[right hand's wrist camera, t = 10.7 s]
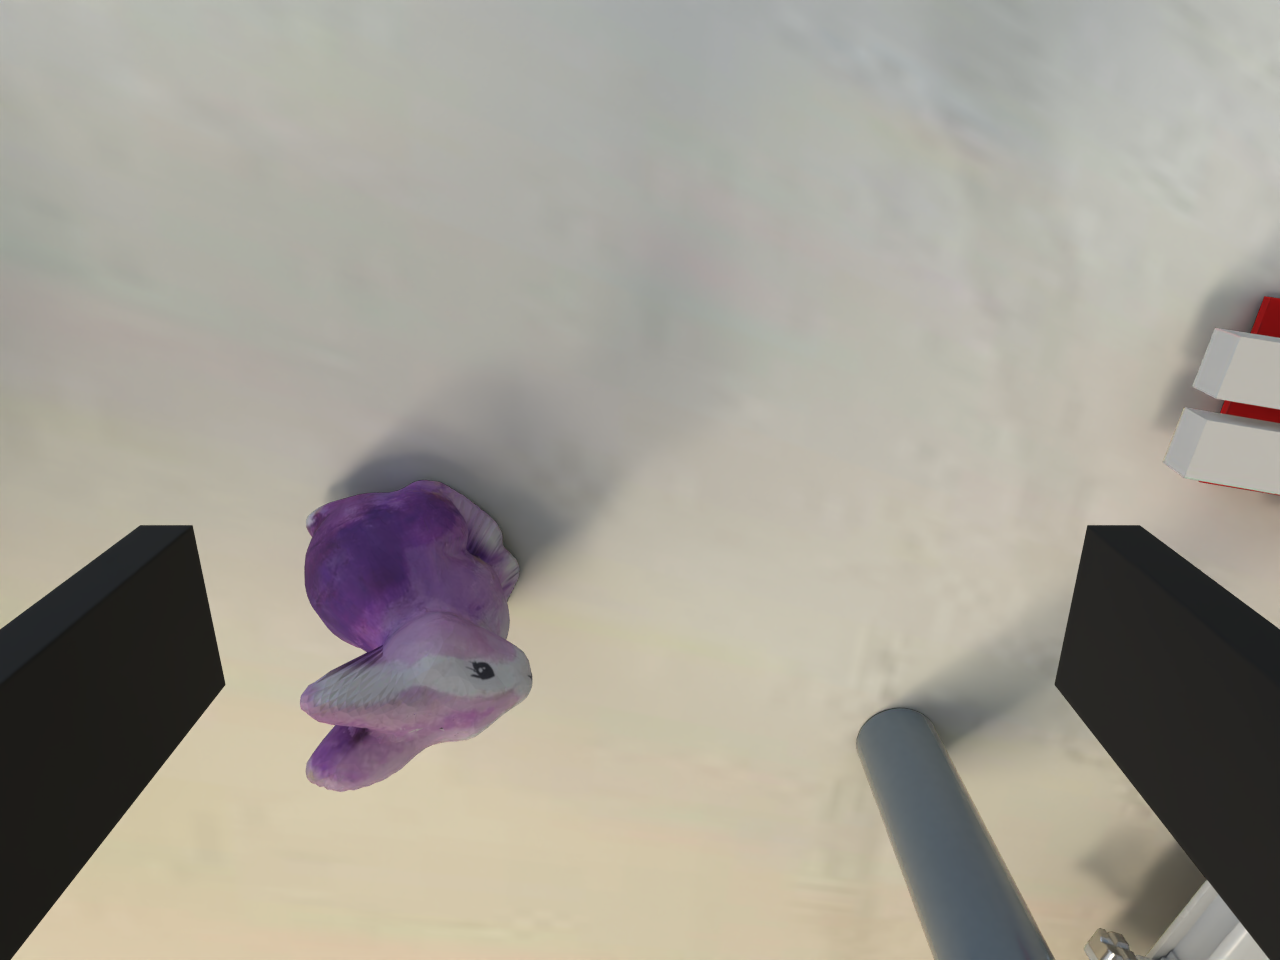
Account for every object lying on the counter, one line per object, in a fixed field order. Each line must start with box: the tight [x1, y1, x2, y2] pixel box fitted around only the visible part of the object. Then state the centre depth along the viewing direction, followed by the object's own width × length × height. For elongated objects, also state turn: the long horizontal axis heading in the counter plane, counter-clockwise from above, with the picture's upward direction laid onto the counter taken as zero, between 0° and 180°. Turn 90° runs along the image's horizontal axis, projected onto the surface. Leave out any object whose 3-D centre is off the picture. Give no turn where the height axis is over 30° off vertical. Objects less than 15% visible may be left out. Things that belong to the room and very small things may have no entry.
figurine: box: [300, 480, 532, 792], centre depth 37 cm, size 9×10×15 cm
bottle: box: [856, 708, 1055, 960], centre depth 37 cm, size 5×5×25 cm
